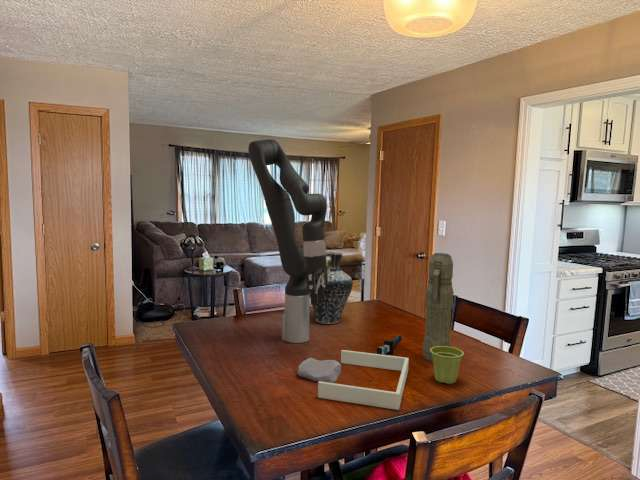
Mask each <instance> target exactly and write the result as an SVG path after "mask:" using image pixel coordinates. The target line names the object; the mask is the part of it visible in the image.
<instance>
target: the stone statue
mask: <svg viewBox="0 0 640 480" xmlns="http://www.w3.org/2000/svg"><path fill="white" fill-rule="evenodd" d="M428 262H429V263H428V281H427V285H426V289H425V299H424V300H425V301H424V303H425V308H426V311H425V312H426V313H425V314H426V315H425V329H424V331H425V332H424V338H423V341H422V351H423V353H422V358H423V359H424V360H426V361H428V362H432V363H433V357H432V353H431V352H430V349H431V348H432V347H436V346H448V347H452V343H451V342H452V341H451V340H452V339H451V319H452V315H451V314H452V309H453V307H454V288H453V282H452V279H453V277H454V276H453V275H454V273H453V271H454V270H453V269H454V261H453V257H452V255H450V254H449V253H443V252H435V253H433V254H432V255H431V256H430V259H429V261H428Z"/></svg>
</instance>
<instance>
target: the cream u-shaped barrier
mask: <svg viewBox="0 0 640 480" xmlns="http://www.w3.org/2000/svg"><path fill="white" fill-rule="evenodd" d="M409 360H410V359H409V357H403V356H396V355H390V354H388V355H387V354H384V355H380V354H377V353H373V352H372V353H370V352H363V351H354V350H347V349H341V352H340V364H343V365H344V364H345V365H354V366H361V367H368V368H377V369H382V370H383V369H385V370H391V371H392V370H393V371H399V372H400V376H399V379H398V383H397V388H396V390H395V391H388V390H382V389H376V388H369V387H362V386H357V385H356V386H355V385H349V384H348V385H347V384H341V383H335V382H333V383H328V382H321V381H319V382H317V386H318V387H317V398H319V399H326V400H332V401H337V402H338V401H339V402H344V403H345V402H346V403H353V404H359V405H364V406H369V407H370V406H371V407H378V408H383V409H384V408H385V409H391V410H395V411H397V410H398V411H399V410H400V407H401V402H402V398H403V394H404V391H405V386H406V381H407V377H408V372H409V363H410V361H409Z"/></svg>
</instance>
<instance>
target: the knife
mask: <svg viewBox="0 0 640 480" xmlns="http://www.w3.org/2000/svg"><path fill="white" fill-rule="evenodd" d="M402 339H403V335H402V334H398V335H397V336H395V337H394V338H390V340H384V341H383V345H382V346H379V347H377V349H376V354H380V355H387V354H388V355H394V348H395V347H396V346H397V345H398V344H400V342H401V341H402Z"/></svg>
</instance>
